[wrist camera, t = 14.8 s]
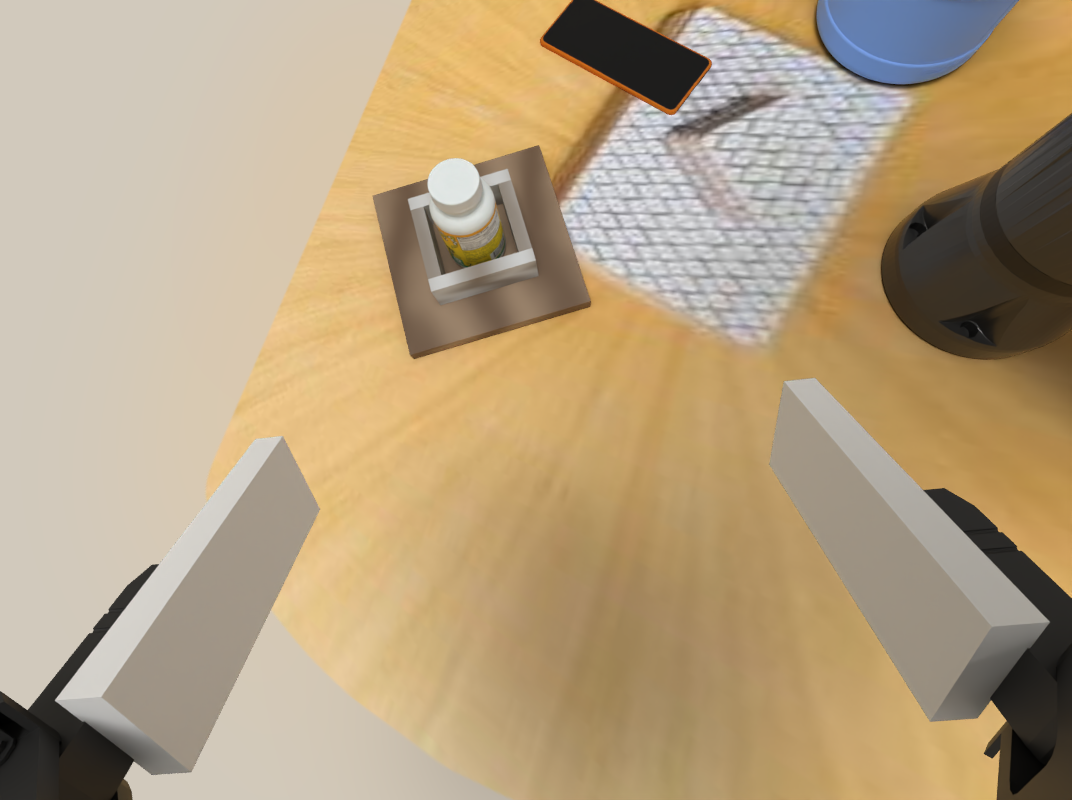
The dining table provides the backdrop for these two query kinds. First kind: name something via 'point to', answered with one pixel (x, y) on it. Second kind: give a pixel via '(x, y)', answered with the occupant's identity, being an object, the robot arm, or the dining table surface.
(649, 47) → the smartphone
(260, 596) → the robot arm
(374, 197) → the square framed base tray
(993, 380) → the dining table surface
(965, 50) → the water jug
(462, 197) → the supplement bottle
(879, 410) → the dining table surface
